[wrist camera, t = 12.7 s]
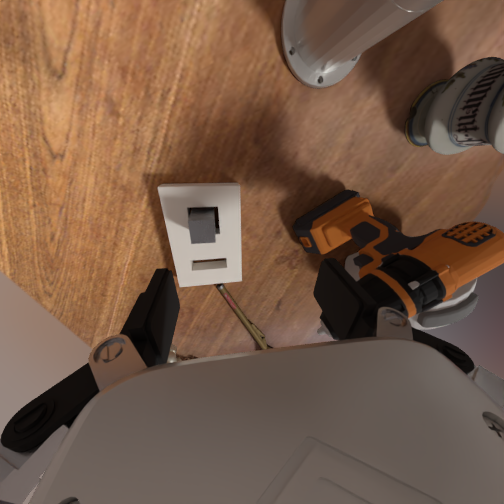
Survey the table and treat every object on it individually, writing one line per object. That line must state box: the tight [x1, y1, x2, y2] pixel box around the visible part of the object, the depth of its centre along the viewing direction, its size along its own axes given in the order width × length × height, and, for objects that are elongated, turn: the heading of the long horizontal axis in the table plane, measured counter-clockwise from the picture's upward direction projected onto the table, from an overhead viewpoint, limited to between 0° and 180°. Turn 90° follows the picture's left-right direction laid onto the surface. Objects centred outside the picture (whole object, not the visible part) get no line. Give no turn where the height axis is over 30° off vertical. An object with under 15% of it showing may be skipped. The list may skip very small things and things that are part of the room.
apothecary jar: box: [405, 57, 504, 154], centre depth 27 cm, size 12×12×18 cm
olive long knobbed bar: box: [217, 283, 272, 350], centre depth 52 cm, size 5×35×5 cm
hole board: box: [158, 183, 242, 287], centre depth 37 cm, size 20×13×3 cm, turn 179°
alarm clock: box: [345, 236, 478, 329], centre depth 40 cm, size 21×8×20 cm, turn 111°
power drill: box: [293, 190, 504, 340], centre depth 30 cm, size 22×7×25 cm, turn 121°
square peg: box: [188, 207, 216, 244], centre depth 32 cm, size 4×4×8 cm
